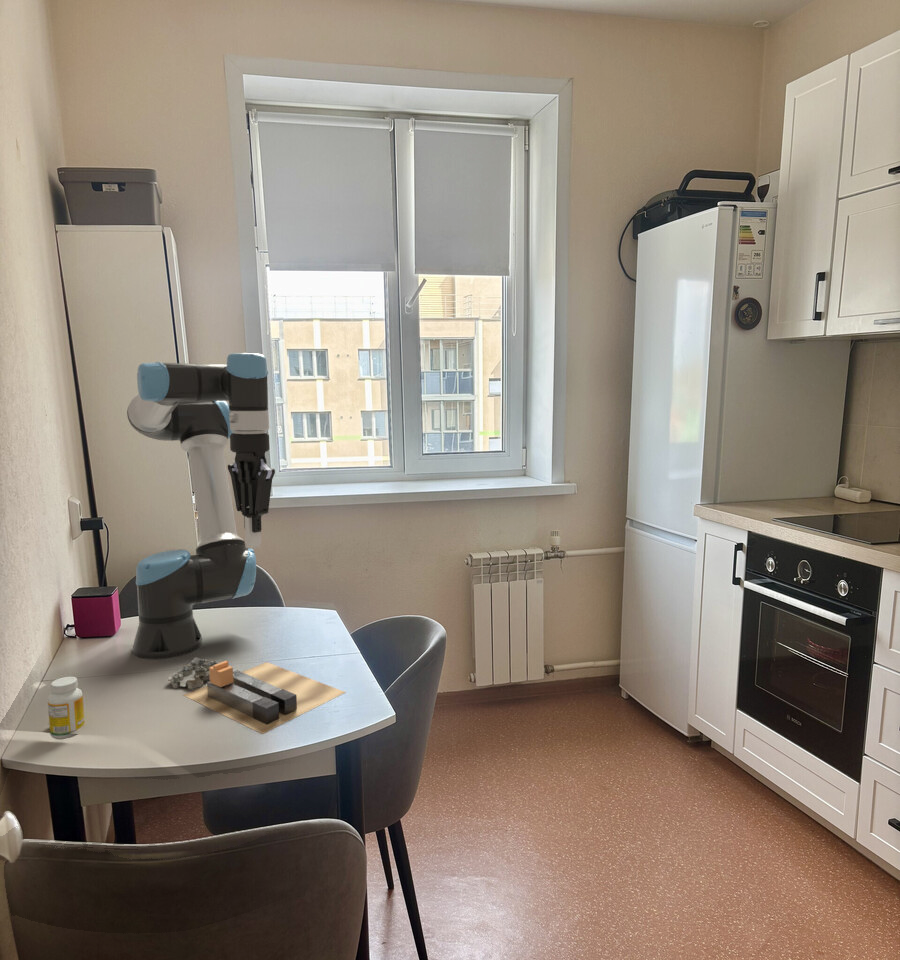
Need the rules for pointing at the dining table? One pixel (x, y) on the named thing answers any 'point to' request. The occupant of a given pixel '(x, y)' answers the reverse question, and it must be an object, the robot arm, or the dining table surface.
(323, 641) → the dining table surface
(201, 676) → the grey lumpy stone piece
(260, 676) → the board
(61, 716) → the supplement bottle
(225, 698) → the tongs fixed
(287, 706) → the bar
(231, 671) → the tab
